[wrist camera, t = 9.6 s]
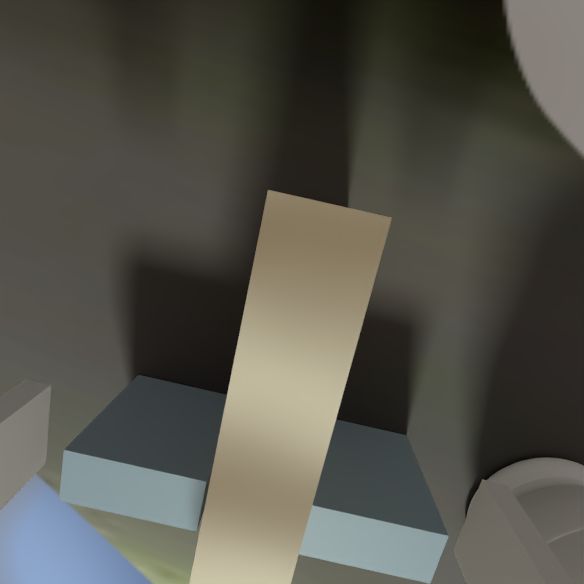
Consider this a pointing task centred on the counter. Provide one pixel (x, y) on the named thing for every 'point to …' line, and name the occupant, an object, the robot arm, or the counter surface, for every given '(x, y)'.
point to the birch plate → (286, 385)
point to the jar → (551, 505)
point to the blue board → (198, 467)
